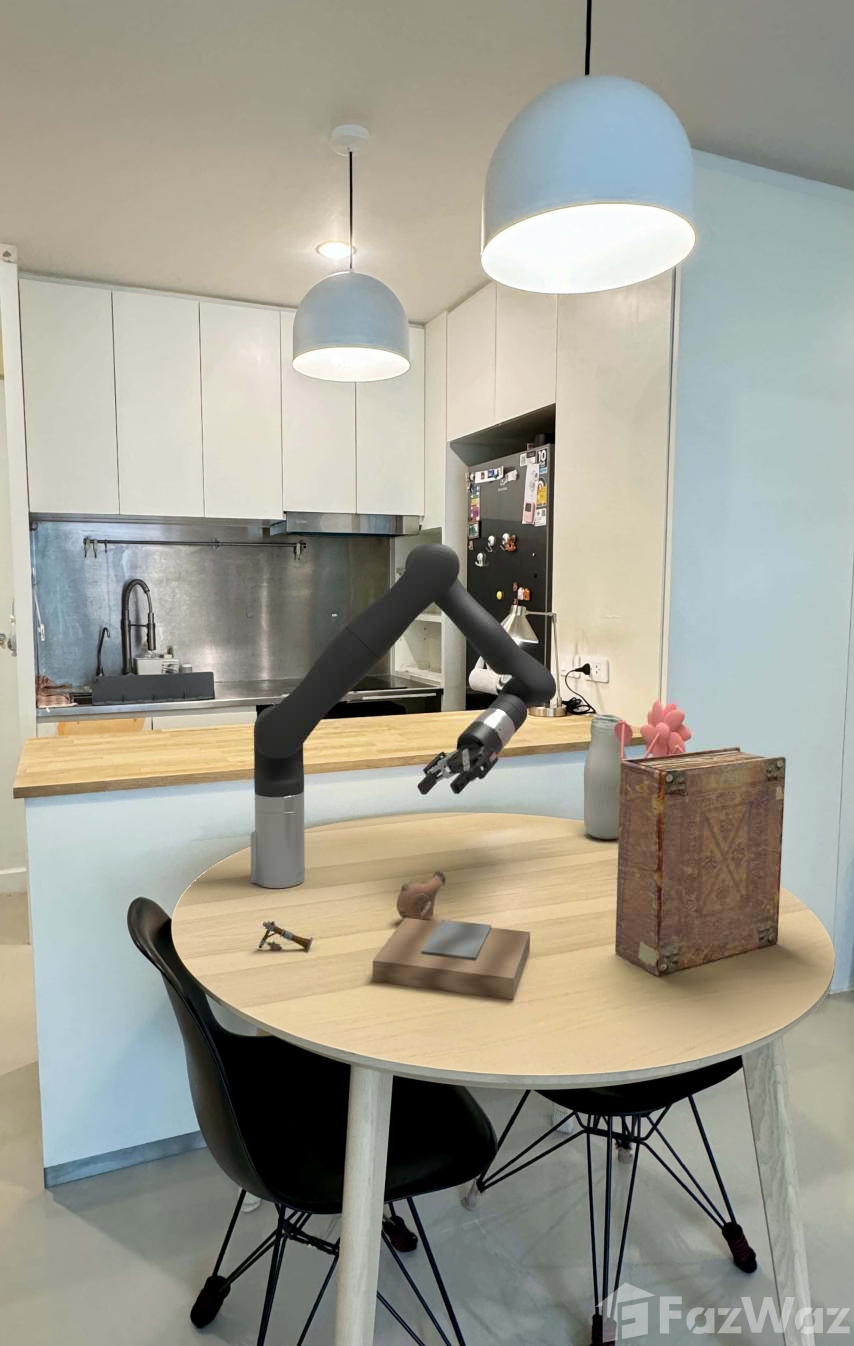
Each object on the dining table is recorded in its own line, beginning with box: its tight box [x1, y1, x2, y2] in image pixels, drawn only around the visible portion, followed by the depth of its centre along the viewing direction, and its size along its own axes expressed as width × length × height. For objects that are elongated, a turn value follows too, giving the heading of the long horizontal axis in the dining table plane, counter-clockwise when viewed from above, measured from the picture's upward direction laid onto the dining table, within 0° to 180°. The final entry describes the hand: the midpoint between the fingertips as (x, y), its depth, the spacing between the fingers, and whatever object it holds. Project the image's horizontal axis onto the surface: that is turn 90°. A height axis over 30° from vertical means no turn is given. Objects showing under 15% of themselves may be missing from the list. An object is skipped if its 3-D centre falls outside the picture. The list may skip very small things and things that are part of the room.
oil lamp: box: [396, 870, 447, 920], centre depth 138 cm, size 9×4×8 cm, turn 117°
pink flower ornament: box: [614, 699, 692, 761], centre depth 156 cm, size 15×26×35 cm, turn 25°
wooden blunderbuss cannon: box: [258, 920, 314, 953], centre depth 127 cm, size 2×8×4 cm, turn 91°
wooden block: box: [372, 918, 531, 1001], centre depth 122 cm, size 20×16×3 cm
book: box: [614, 746, 787, 978], centre depth 127 cm, size 25×9×30 cm, turn 118°
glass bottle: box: [583, 714, 628, 840], centre depth 185 cm, size 10×10×28 cm
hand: (436, 790), depth 145 cm, fingers open, 8 cm apart
